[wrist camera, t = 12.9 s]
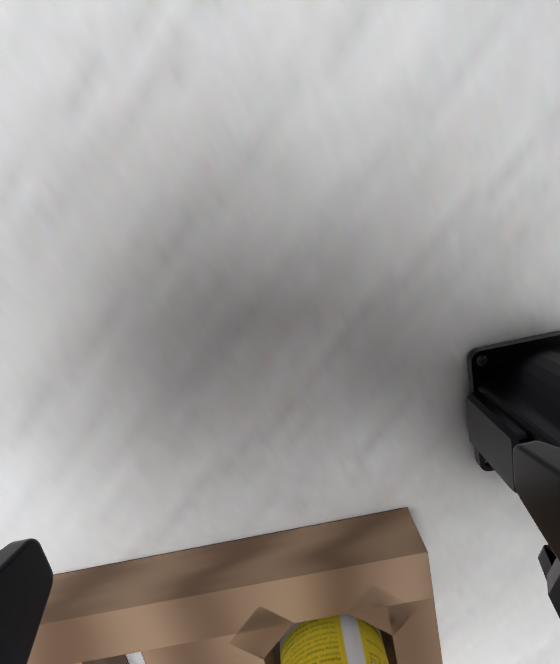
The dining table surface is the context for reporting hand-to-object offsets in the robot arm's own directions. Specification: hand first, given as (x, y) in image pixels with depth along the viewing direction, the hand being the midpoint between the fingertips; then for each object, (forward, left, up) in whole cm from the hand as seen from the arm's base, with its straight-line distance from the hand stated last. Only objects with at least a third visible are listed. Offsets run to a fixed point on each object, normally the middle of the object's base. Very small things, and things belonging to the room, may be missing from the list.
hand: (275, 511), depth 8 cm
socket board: (+6, +17, -12) cm, 22 cm away
